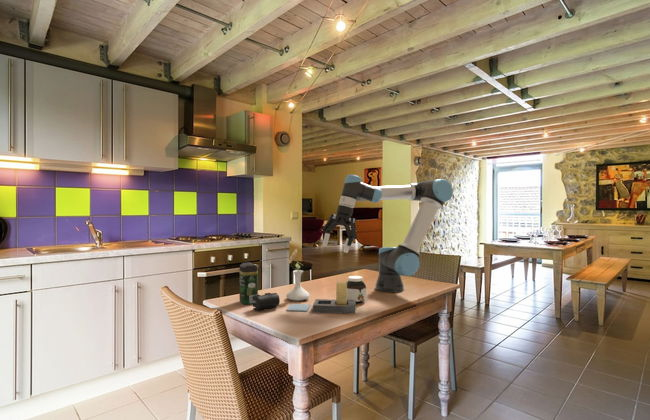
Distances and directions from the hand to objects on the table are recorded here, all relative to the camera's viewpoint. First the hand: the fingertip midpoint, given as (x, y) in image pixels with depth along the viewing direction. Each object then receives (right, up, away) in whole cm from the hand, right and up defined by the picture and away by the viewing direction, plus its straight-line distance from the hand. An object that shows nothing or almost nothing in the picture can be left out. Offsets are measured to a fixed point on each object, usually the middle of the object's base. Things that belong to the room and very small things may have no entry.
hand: (334, 249), depth 166 cm
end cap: (-30, -25, -14) cm, 42 cm away
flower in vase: (-18, -25, +2) cm, 31 cm away
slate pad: (-16, -25, -12) cm, 32 cm away
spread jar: (+10, -25, +1) cm, 27 cm away
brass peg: (+3, -25, -14) cm, 29 cm away
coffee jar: (-40, -25, -3) cm, 48 cm away
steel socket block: (0, -25, -14) cm, 28 cm away
